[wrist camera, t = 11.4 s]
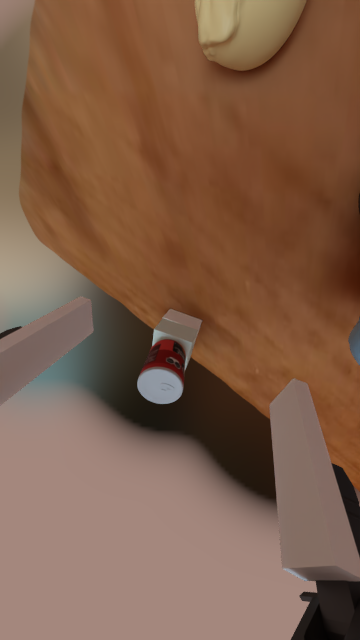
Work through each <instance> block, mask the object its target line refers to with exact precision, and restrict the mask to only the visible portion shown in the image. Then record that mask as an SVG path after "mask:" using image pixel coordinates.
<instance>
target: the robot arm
mask: <svg viewBox="0 0 360 640" xmlns="http://www.w3.org/2000/svg"><path fill="white" fill-rule="evenodd" d="M359 212H360V195H359ZM92 332H93V320H92V309H91V300H89V299H87V298H84V297H82V296H81V297H79V298H77V299H75V300H73V301H71V302H69V303H67V304H66V305H64V306H62V307H60V308H58V309H56V310H55V311H52V312H51V313H49V314H47V315H45V316H43V317H41V318H39V319H37V320H36V321H34V322H32V323H30V324H28V325H26V326H24V327H21V326H20V327H16V328H12V329H9V330H6V331H4V332H2V333H1V334H0V405H2V404H3V403H4V402H5V401H7V400H8V399H9V398H11V397H12V396H13V395H14V394H16V393H17V392H18V391H19V390H21V389H22V388H23V387H24V386H26V385H27V384H28V383H29V382H31V381H32V380H33V379H34V378H36V377H37V376H38V375H39V374H41V373H42V372H43V371H45V370H46V369H47V368H48V367H50V366H51V365H52V364H53V363H55V362H56V361H57V360H58V359H60V358H61V357H62V356H63V355H65V354H66V353H67V352H69V351H70V350H71V349H72V348H74V347H75V346H76V345H77V344H79V343H80V342H81V341H82V340H84V339H85V338H86V337H87V336H89V335H90V334H91V333H92ZM349 344H350V351H351V353H352V355H353V357H354V358H355V360H356V361H357V363H358V364H359V365H360V317H359V321H358V322H357V324H356V325H355V327H354V328H353V330H352V331H351V333H350V336H349ZM270 418H271V431H272V443H273V455H274V469H275V482H276V495H277V508H278V521H279V533H280V545H281V558H282V568H283V569H284V570H286V571H288V572H289V573H291V574H293V575H295V576H297V577H299V578H300V579H302V580H304V581H316V585H317V592H318V593H312V592H303V593H302V594H301V595H300V598H301V600H302V601H308V602H310V603H309V605H308V607H307V609H306V611H305V613H304V615H303V617H302V619H301V621H300V623H299V625H298V627H297V629H296V631H295V632H294V634H293V637H292V638H291V640H360V507H359V501H358V498H357V496H356V493H355V490H354V487H353V485H352V483H351V481H350V480H349V478H348V476H347V475H346V473H345V472H344V470H343V468H341V467H339V466H337V465H335V464H332V463H331V461H330V457H329V454H328V450H327V447H326V444H325V440H324V437H323V434H322V430H321V427H320V424H319V420H318V417H317V414H316V410H315V407H314V404H313V400H312V397H311V394H310V390H309V387H308V384H307V383H304V382H302V381H299V380H296V379H294V378H293V379H292V380H291V381H290V383H289V384H288V385H287V386H286V387H285V388H284V389H283V390H282V391H281V393H280V394H279V395H278V396H277V397H276V398H275V399H274V400H273V402H272V403H271V404H270Z"/></svg>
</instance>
